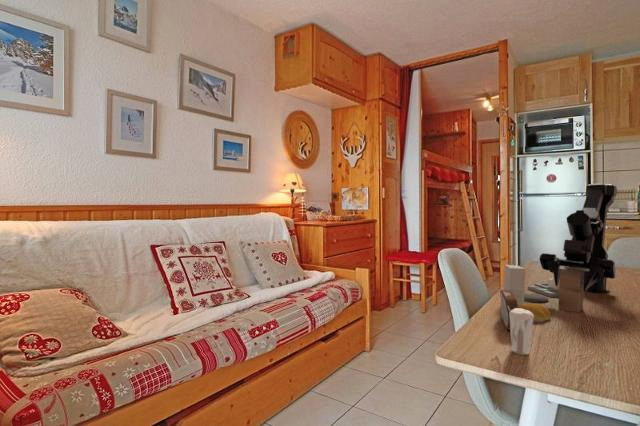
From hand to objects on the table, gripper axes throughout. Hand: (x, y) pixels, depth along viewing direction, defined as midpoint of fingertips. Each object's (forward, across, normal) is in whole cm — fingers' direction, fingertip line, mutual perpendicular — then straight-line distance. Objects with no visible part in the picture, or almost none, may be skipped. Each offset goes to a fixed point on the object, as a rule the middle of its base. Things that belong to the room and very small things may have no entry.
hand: (570, 287), depth 108 cm
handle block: (+4, 0, +6) cm, 7 cm away
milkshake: (+36, +1, -27) cm, 45 cm away
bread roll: (+17, -5, -7) cm, 19 cm away
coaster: (+2, -11, +8) cm, 14 cm away
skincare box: (+10, -13, -1) cm, 17 cm away
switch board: (-9, -9, +19) cm, 23 cm away
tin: (+25, -7, -15) cm, 30 cm away
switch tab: (-10, -8, +17) cm, 21 cm away
